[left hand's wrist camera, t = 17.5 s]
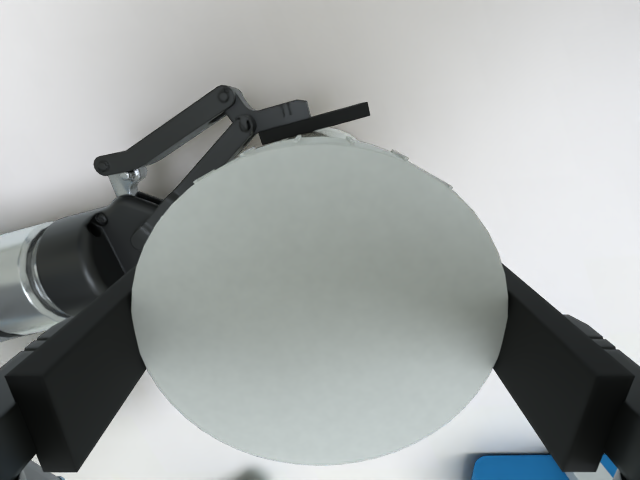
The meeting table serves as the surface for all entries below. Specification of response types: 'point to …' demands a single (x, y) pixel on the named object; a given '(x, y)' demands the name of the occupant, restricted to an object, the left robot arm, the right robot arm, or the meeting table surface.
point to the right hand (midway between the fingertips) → (382, 192)
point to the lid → (319, 302)
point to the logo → (535, 469)
